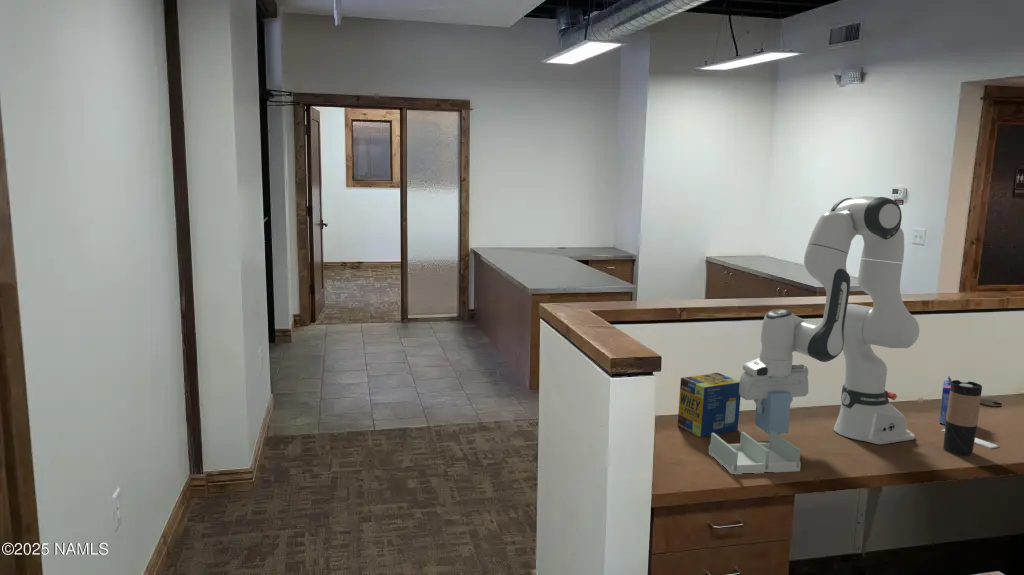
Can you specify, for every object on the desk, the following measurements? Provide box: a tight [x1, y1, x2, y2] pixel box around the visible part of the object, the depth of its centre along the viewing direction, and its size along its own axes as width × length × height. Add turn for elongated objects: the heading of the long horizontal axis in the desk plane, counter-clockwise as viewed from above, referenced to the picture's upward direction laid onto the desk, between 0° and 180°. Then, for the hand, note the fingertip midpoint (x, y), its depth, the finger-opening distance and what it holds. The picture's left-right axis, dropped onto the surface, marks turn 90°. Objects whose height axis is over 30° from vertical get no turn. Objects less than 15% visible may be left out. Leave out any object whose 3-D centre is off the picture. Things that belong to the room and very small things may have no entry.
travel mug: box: [943, 379, 983, 457], centre depth 205 cm, size 8×8×20 cm
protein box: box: [677, 372, 742, 438], centre depth 218 cm, size 10×15×16 cm
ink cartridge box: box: [939, 375, 953, 425], centre depth 230 cm, size 10×6×14 cm, turn 148°
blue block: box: [754, 391, 792, 436], centre depth 208 cm, size 6×8×12 cm
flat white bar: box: [941, 428, 1000, 450], centre depth 216 cm, size 5×15×1 cm, turn 23°
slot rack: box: [708, 430, 802, 475], centre depth 194 cm, size 19×14×6 cm
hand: (772, 411), depth 209 cm, fingers closed on blue block, 6 cm apart
